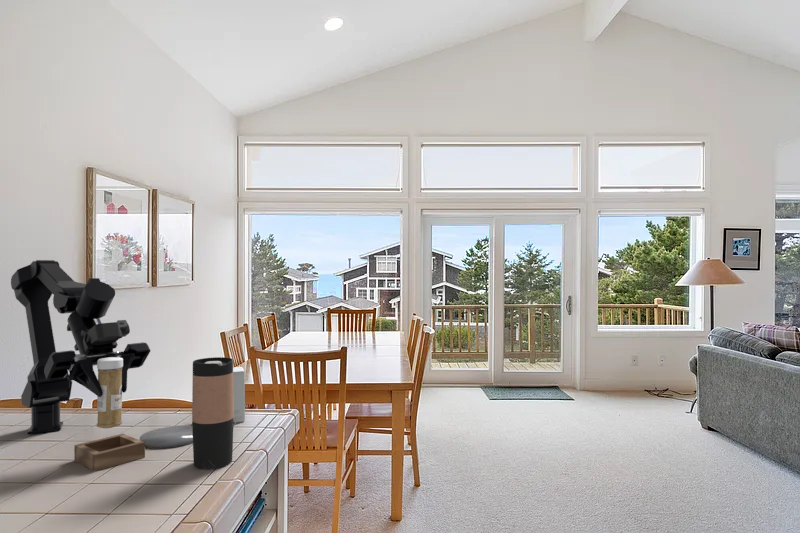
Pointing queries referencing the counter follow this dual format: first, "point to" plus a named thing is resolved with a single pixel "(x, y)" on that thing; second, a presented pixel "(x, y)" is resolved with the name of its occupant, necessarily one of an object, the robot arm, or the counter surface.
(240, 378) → the supplement box
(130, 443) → the walnut socket
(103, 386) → the sprinkles bottle
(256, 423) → the counter surface
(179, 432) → the slate plate
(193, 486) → the counter surface
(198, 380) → the travel mug
